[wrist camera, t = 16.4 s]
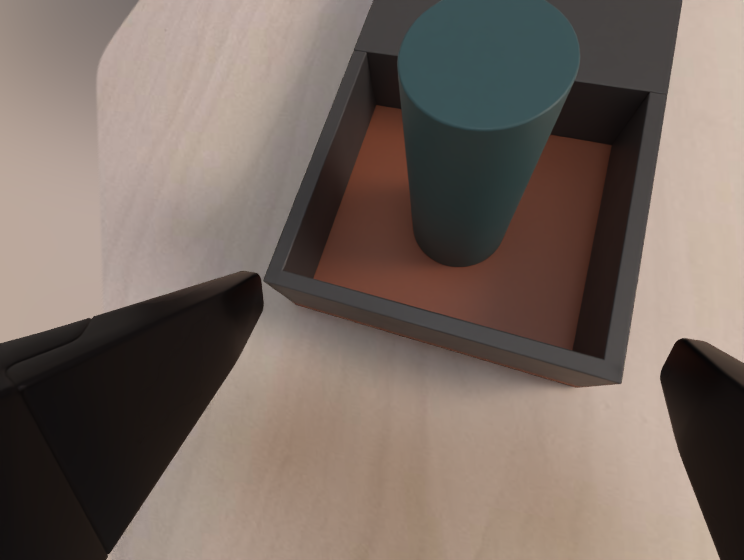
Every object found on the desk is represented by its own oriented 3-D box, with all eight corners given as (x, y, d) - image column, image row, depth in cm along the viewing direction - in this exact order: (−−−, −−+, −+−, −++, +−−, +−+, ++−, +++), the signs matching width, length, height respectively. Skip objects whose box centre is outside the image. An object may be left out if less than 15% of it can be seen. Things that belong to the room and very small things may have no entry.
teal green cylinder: (524, 229, 22) (622, 54, 11) (452, 285, 22) (476, 164, 11) (463, 168, 24) (494, -40, 13) (395, 219, 24) (362, 53, 12)
